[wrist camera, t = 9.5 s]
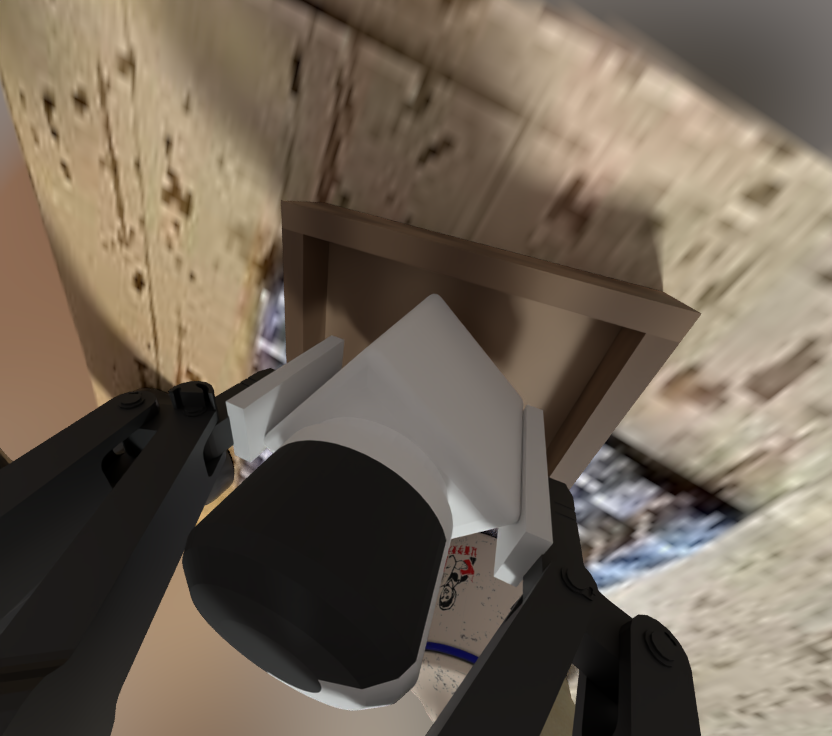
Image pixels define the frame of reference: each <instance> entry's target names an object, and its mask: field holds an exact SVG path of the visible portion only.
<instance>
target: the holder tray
mask: <svg viewBox="0 0 832 736" xmlns="http://www.w3.org/2000/svg"><path fill="white" fill-rule="evenodd" d="M281 213H282V242H283V271H284V300H285V329H286V359H287V363H288V362H290V361H291V360H293V359H295V358H296V357H298V356H299V355H301V354H303V353H304V352H306V351H307V350H309V349H311V348H312V347H314V346H315V345H317V344H319V343H320V342H322V341H323V340H325V339H327V338H328V337H330V336H331V335H332V336H335V337H338V338H341V339H344V350H343V362H342V368H343V367H344V366H346V365H347V364H348V363H349V362H350V361H351V360H353V359H354V358H355V357H356V356H357V355H358V354H360V353H361V352H362V351H363V350H364V349H365V348H367V347H368V346H369V345H370V344H371V343H373V342H374V341H375V340H376V339H377V338H379V337H380V336H381V335H382V334H383V333H385V332H386V331H387V330H388V329H389V328H391V327H392V326H393V325H394V324H395V323H397V322H398V321H399V320H400V319H402V318H403V317H404V316H405V315H406V314H408V313H409V312H410V311H411V310H412V309H414V308H415V307H416V306H417V305H418V304H420V303H421V302H422V301H423V300H424V299H426V298H427V297H428V296H429V295H431V294H438V295H439V296H441V298H442V299H443V300H444V301H445V303H446V304H447V305H448V306H449V308H450V309H451V310H452V311H453V313H454V314H455V315H456V316H457V318H458V319H459V320H460V321H461V323H462V324H463V325H464V326H465V328H466V329H467V330H468V331H469V333H470V334H471V335H472V336H473V338H474V339H475V340H476V341H477V343H478V344H479V345H480V346H481V348H482V349H483V350H484V351H485V353H486V354H487V355H488V357H489V358H490V359H491V360H492V362H493V363H494V364H495V365H496V367H497V368H498V369H499V370H500V372H501V373H502V374H503V375H504V377H505V378H506V379H507V380H508V382H509V383H510V384H511V385H512V387H513V388H514V389H515V390H516V392H517V393H518V394H519V395H520V397H521V398H522V400H523V411H524V409H525V407H526V405H530V406H532V407H535V408H538V409H541V410H543V418H544V431H545V444H546V457H547V471H548V477H550V478H552V479H555V480H557V481H560V482H562V483H565V484H566V485H567V487H568V489H570V488H571V487H572V486H573V484H574V483H575V482H576V480H577V479H578V478H579V476H580V475H581V474H582V472H583V471H584V470H585V468H586V467H587V466H588V464H589V463H590V462H591V460H592V459H593V458H594V456H595V455H596V454H597V452H598V451H599V450H600V448H601V447H602V446H603V444H604V443H605V442H606V440H607V439H608V438H609V436H610V435H611V434H612V432H613V431H614V430H615V428H616V427H617V426H618V424H619V423H620V422H621V420H622V419H623V418H624V416H625V415H626V414H627V412H628V411H629V410H630V408H631V407H632V406H633V404H634V403H635V402H636V400H637V399H638V398H639V396H640V395H641V394H642V392H643V391H644V390H645V388H646V387H647V386H648V384H649V383H650V382H651V380H652V379H653V378H654V376H655V375H656V374H657V372H658V371H659V370H660V368H661V367H662V366H663V364H664V363H665V362H666V360H667V359H668V358H669V356H670V355H671V354H672V352H673V351H674V350H675V348H676V347H677V346H678V344H679V343H680V342H681V340H682V339H683V338H684V336H685V335H686V334H687V332H688V331H689V330H690V329H691V327H692V326H693V325H694V323H695V322H696V321H697V319H698V318H699V317H700V315H701V313H699V312H698V311H696V310H694V309H692V308H691V307H689V306H687V305H685V304H684V303H682V302H680V301H678V300H677V299H675V298H673V297H671V296H670V295H668V294H666V293H665V292H662V291H658V290H654V289H650V288H646V287H643V286H639V285H635V284H631V283H627V282H624V281H620V280H616V279H612V278H608V277H605V276H601V275H597V274H593V273H589V272H586V271H582V270H578V269H574V268H570V267H567V266H563V265H559V264H555V263H551V262H548V261H544V260H540V259H536V258H532V257H529V256H525V255H521V254H517V253H513V252H510V251H506V250H502V249H498V248H494V247H491V246H487V245H483V244H479V243H475V242H472V241H468V240H464V239H460V238H456V237H453V236H449V235H445V234H441V233H437V232H434V231H430V230H426V229H422V228H418V227H414V226H411V225H407V224H403V223H399V222H395V221H392V220H388V219H384V218H380V217H376V216H373V215H369V214H365V213H361V212H357V211H354V210H350V209H346V208H342V207H338V206H335V205H331V204H327V203H320V202H301V201H281Z"/></svg>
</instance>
